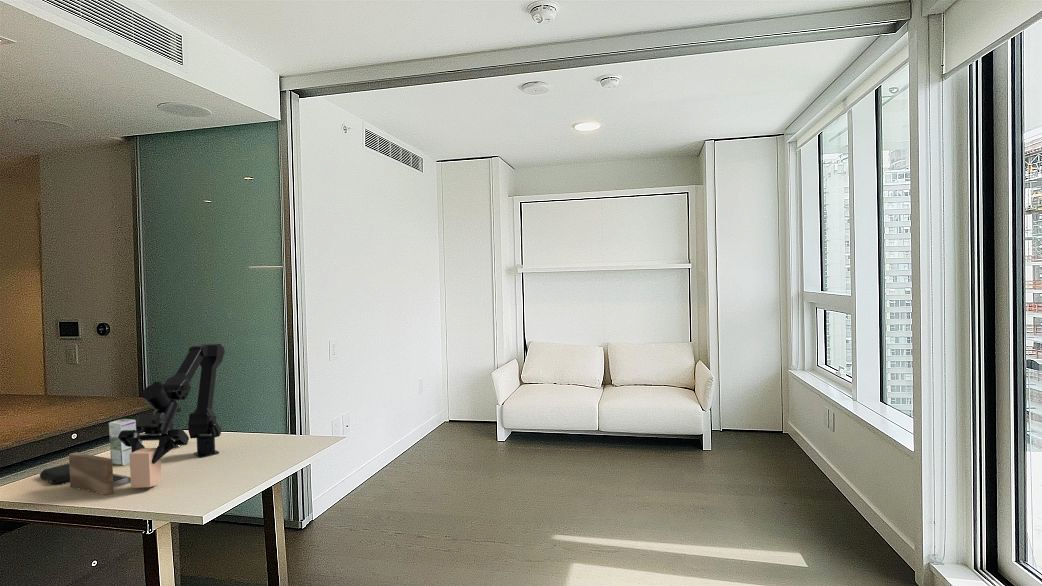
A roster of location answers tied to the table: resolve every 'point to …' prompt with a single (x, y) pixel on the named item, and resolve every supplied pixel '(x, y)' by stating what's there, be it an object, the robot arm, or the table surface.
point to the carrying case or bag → (56, 474)
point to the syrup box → (117, 448)
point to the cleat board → (94, 473)
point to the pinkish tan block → (144, 468)
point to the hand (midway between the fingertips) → (142, 463)
